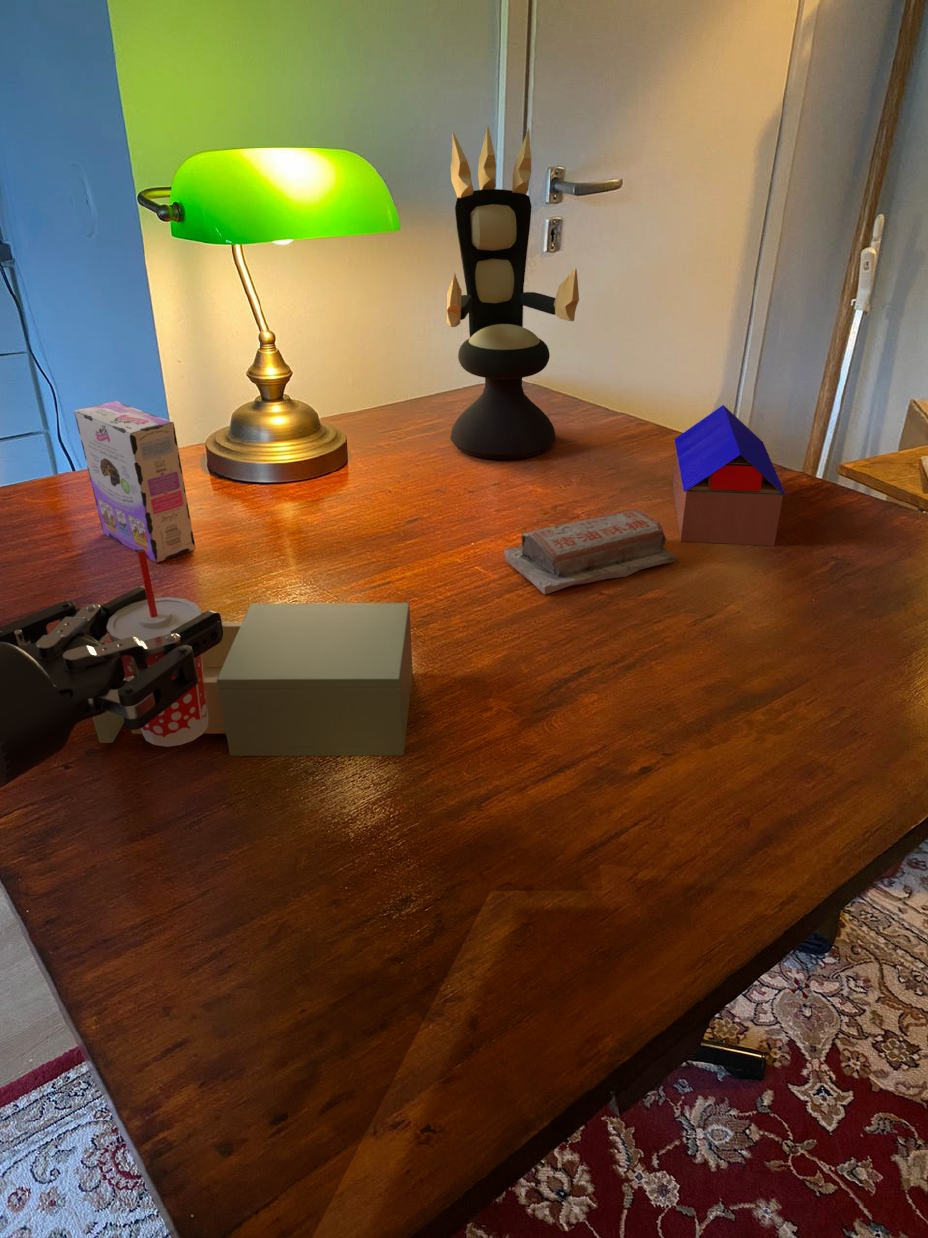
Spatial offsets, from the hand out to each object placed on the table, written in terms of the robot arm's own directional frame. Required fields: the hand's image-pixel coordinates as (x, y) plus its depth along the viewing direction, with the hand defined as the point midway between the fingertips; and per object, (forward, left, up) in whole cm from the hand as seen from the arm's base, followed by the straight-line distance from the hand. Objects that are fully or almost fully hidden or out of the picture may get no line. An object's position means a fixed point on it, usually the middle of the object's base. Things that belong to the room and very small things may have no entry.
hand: (182, 611), depth 63 cm
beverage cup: (-1, -2, -9) cm, 9 cm away
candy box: (-21, +50, -18) cm, 57 cm away
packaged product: (+34, +43, -18) cm, 57 cm away
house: (+53, +58, -18) cm, 80 cm away
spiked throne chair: (+24, +88, -18) cm, 92 cm away
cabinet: (+7, +13, -18) cm, 23 cm away
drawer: (-7, +13, -17) cm, 22 cm away
